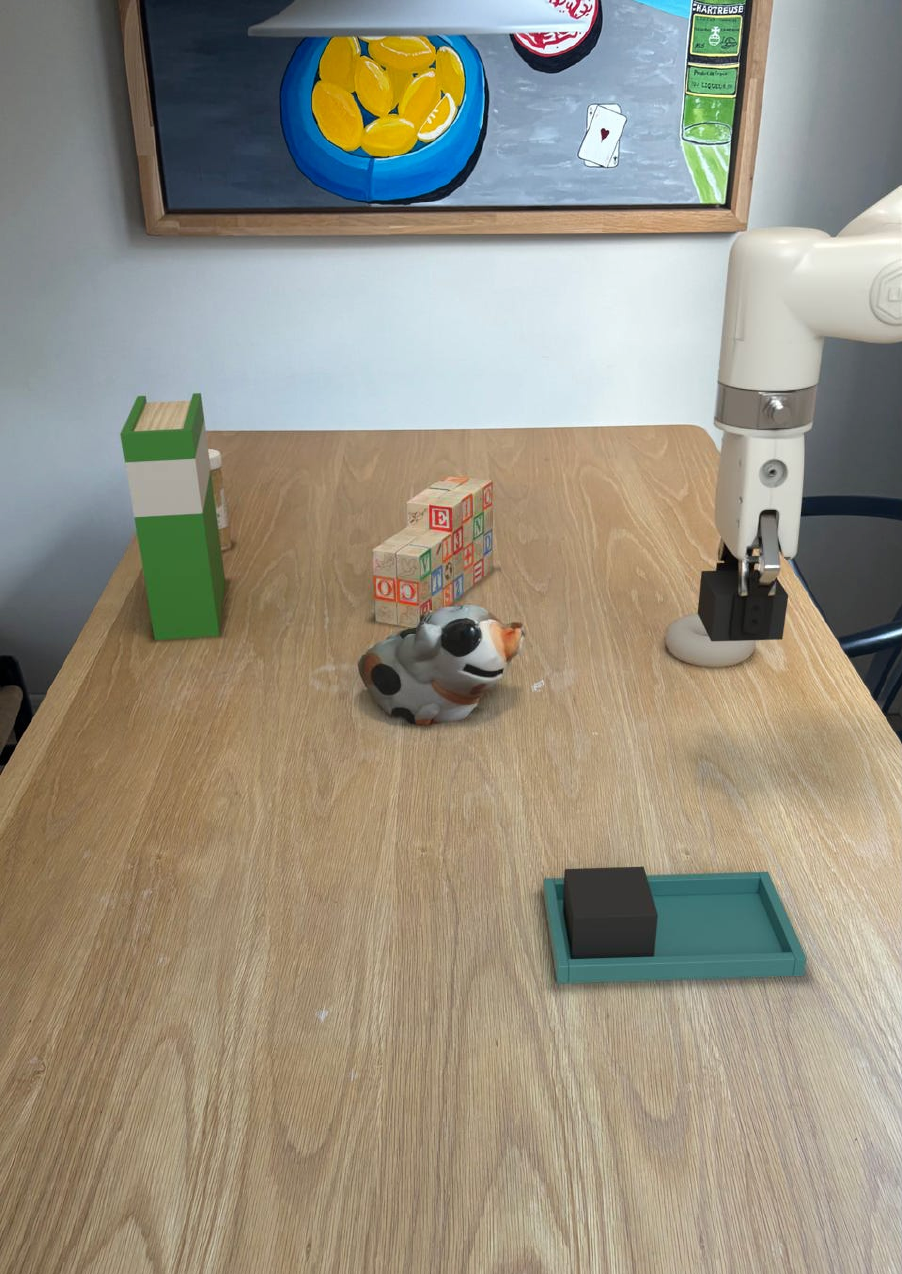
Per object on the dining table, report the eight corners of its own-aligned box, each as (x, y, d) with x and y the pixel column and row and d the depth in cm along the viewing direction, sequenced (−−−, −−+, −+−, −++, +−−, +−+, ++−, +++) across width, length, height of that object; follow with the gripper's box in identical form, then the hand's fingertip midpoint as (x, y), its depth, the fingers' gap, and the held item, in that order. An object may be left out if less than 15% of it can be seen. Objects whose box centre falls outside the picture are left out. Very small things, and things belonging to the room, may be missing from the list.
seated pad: (640, 908, 89) (643, 866, 87) (653, 958, 84) (658, 914, 81) (562, 910, 89) (564, 868, 87) (571, 961, 84) (573, 917, 81)
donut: (743, 680, 123) (762, 642, 131) (747, 650, 122) (766, 614, 129) (653, 665, 127) (676, 629, 135) (655, 636, 125) (679, 601, 133)
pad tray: (764, 892, 91) (768, 871, 90) (802, 981, 82) (806, 958, 81) (542, 899, 91) (543, 878, 90) (556, 989, 82) (557, 966, 81)
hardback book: (167, 587, 149) (137, 396, 137) (225, 583, 150) (200, 393, 137) (155, 642, 134) (120, 434, 122) (219, 638, 135) (191, 430, 122)
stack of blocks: (421, 632, 136) (417, 530, 129) (374, 624, 138) (368, 523, 131) (493, 571, 152) (493, 478, 145) (450, 565, 154) (448, 473, 148)
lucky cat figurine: (453, 661, 128) (511, 565, 119) (499, 741, 122) (564, 646, 113) (337, 657, 119) (390, 553, 110) (380, 743, 113) (440, 640, 105)
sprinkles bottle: (197, 555, 159) (183, 457, 152) (201, 544, 163) (187, 448, 156) (230, 553, 160) (218, 456, 152) (233, 542, 163) (221, 447, 156)
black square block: (765, 611, 102) (770, 568, 99) (782, 639, 96) (788, 594, 94) (697, 613, 102) (701, 570, 99) (711, 641, 96) (715, 596, 94)
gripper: (846, 433, 82) (810, 663, 91) (784, 380, 97) (759, 583, 106) (740, 436, 82) (716, 666, 91) (694, 382, 97) (678, 585, 106)
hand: (739, 619), depth 99 cm, fingers closed on black square block, 6 cm apart
